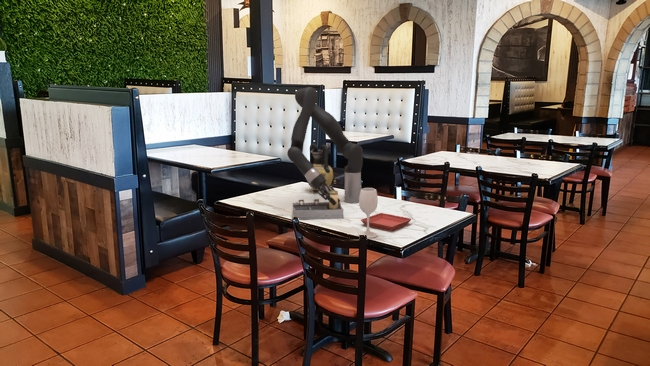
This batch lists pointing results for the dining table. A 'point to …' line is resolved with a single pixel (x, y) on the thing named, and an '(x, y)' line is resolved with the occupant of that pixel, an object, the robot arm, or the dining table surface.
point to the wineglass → (368, 207)
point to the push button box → (316, 210)
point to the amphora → (321, 163)
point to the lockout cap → (335, 196)
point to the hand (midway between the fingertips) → (337, 203)
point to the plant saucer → (386, 221)
